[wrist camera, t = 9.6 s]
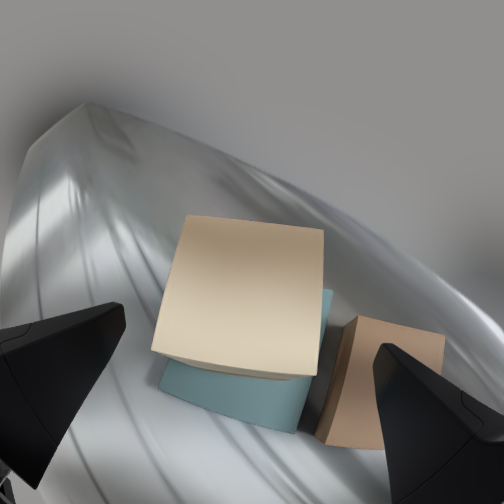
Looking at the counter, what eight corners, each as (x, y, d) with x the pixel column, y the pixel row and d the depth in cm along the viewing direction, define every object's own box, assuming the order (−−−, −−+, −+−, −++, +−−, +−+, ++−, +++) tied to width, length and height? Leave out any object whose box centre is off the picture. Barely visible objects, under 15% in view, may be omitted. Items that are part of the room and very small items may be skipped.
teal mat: (292, 431, 14) (294, 434, 14) (162, 389, 16) (157, 389, 15) (329, 295, 19) (333, 290, 18) (212, 262, 20) (210, 256, 19)
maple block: (280, 381, 15) (316, 375, 6) (208, 371, 16) (150, 350, 7) (288, 313, 17) (323, 229, 9) (220, 304, 18) (187, 214, 9)
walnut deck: (401, 444, 13) (422, 450, 11) (313, 435, 14) (325, 444, 12) (422, 344, 17) (445, 335, 14) (343, 326, 18) (358, 315, 15)
